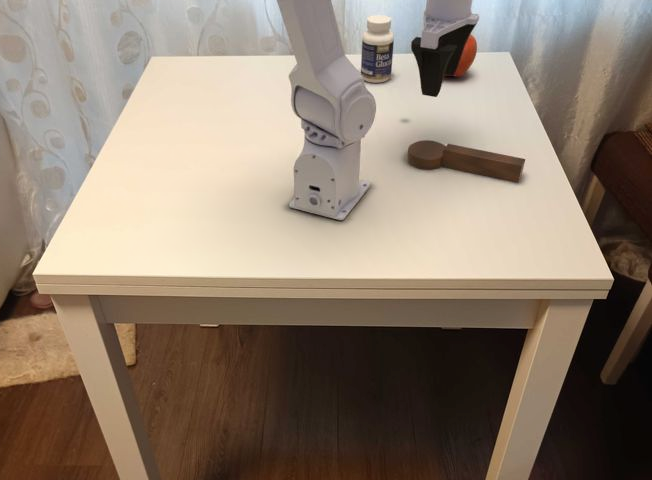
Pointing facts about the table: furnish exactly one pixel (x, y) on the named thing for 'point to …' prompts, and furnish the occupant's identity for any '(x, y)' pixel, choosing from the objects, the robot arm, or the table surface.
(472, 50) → the apple
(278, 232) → the table surface
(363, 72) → the pill bottle
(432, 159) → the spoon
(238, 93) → the table surface
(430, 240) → the table surface
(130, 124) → the table surface
